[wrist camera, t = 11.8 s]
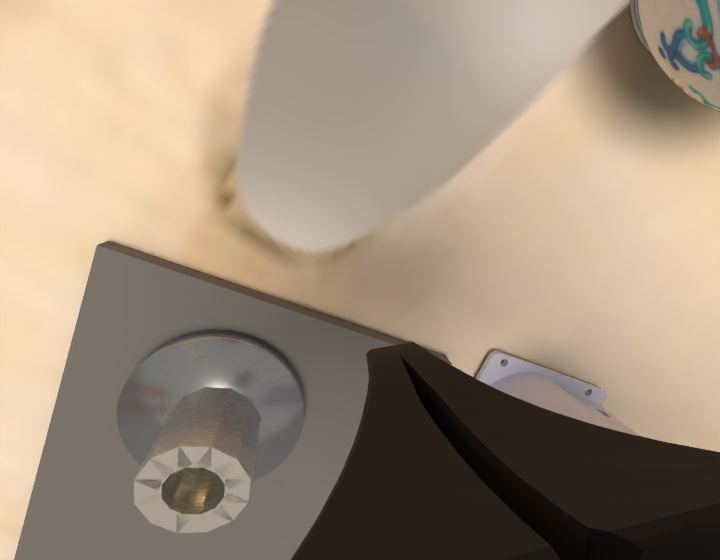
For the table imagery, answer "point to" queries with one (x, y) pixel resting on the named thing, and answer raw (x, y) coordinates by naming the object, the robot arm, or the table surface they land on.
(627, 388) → the table surface
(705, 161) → the table surface
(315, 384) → the mat
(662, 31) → the chinaware
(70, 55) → the table surface
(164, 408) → the hub
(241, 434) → the ridged pipe fitting
